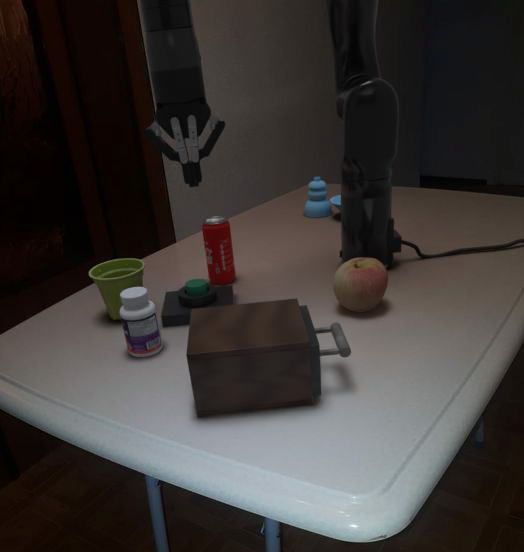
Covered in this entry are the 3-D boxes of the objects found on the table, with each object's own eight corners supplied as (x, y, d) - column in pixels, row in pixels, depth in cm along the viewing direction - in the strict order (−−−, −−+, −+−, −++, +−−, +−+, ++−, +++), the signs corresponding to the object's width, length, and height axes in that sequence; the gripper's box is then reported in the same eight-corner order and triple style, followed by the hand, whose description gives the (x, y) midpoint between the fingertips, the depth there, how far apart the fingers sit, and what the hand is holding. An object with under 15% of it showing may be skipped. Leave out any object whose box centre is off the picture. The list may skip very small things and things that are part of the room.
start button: (207, 287, 97) (206, 277, 96) (207, 295, 93) (205, 285, 93) (187, 289, 97) (185, 279, 96) (186, 297, 93) (184, 287, 93)
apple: (390, 297, 95) (391, 253, 91) (382, 321, 88) (383, 273, 84) (340, 294, 98) (339, 251, 94) (328, 317, 91) (327, 271, 87)
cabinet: (300, 355, 81) (297, 298, 76) (313, 405, 70) (310, 341, 65) (200, 365, 81) (191, 309, 76) (197, 417, 70) (186, 354, 65)
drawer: (338, 347, 80) (337, 301, 76) (355, 391, 70) (354, 341, 66) (215, 360, 80) (208, 315, 76) (214, 406, 70) (206, 356, 66)
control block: (233, 296, 101) (231, 275, 99) (234, 320, 93) (232, 298, 91) (168, 302, 101) (164, 282, 99) (163, 327, 92) (158, 305, 90)
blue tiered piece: (380, 212, 138) (380, 175, 134) (361, 225, 131) (361, 186, 126) (316, 206, 147) (315, 171, 143) (296, 218, 140) (294, 181, 136)
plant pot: (107, 331, 93) (95, 283, 89) (95, 311, 100) (83, 266, 96) (160, 316, 96) (151, 269, 92) (144, 298, 104) (135, 254, 100)
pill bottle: (130, 343, 88) (117, 286, 84) (164, 339, 89) (153, 282, 84) (126, 360, 84) (112, 301, 79) (162, 356, 84) (150, 297, 79)
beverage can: (232, 285, 105) (225, 224, 100) (206, 285, 107) (197, 224, 101) (238, 275, 110) (232, 215, 104) (213, 275, 111) (205, 216, 105)
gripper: (126, 72, 77) (151, 196, 86) (220, 61, 78) (236, 186, 86) (133, 69, 84) (155, 185, 92) (220, 59, 84) (234, 176, 93)
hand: (194, 185), depth 89 cm, fingers closed
